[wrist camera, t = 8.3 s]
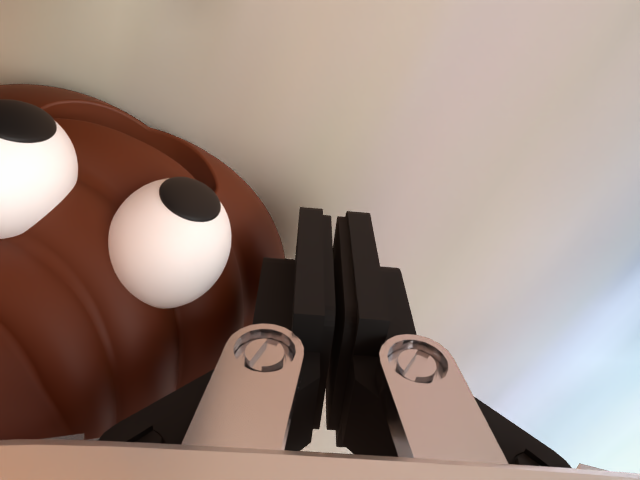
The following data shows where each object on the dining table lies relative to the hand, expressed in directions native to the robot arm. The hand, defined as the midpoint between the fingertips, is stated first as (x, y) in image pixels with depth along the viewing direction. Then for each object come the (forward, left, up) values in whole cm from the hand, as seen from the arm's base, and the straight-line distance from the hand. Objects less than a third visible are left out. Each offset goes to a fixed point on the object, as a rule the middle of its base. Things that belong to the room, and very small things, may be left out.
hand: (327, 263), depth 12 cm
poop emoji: (-1, +6, -2) cm, 6 cm away
